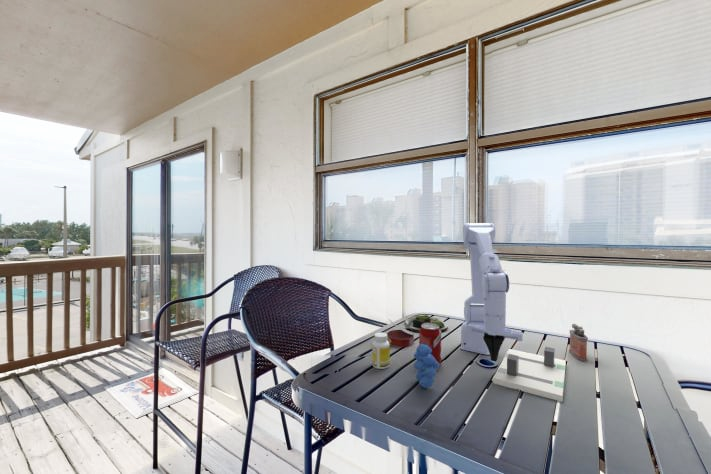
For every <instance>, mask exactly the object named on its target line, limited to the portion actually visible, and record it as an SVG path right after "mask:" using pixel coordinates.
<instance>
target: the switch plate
mask: <svg viewBox="0 0 711 474" xmlns="http://www.w3.org/2000/svg"><path fill="white" fill-rule="evenodd" d="M509 354H512V355H516V356H519V365H518V373H517V376H514V375H510V374H507V358H508V356H509ZM566 362H567V361H566V360H565V359H560V358H557V357H554V367H550V366H546V365H544V355H540V354H536V353H531V352H525V351H522V350H517V349H511V348H508V349H507V351H506V354H505V355H504V357H503V359H502V361H501V363H500V364H499V366H498V368H497V369H496V372H495V374H494V375H493V376H492V377H493V378H492V383H493V384H494V385H498V386H502V387H506V388H508V389H513V388H514V389H513V390H516V389H519V390H518V391H520V390H521V391H520V392H524V393H528V394H532V395H535V396H539V397H543V398H547V399H550V400H554V401H558V402H561V403H563V401H564V400H563V397H564V388H565V379H566V378H565V377H566V367H567V363H566Z"/></svg>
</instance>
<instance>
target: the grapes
mask: <svg viewBox="0 0 711 474" xmlns="http://www.w3.org/2000/svg"><path fill="white" fill-rule="evenodd" d="M431 352H432V350H431V348H430V347H429V346H427V345H424V344H420V345H419V344H418V345H417V347H416V349H415V353H414V354H413V357H414V358H415V359H416V361H415V362H414V364H413V368H414V369H415V370H416V371H417V373H416V374H415V376H414V377H415V379H416V380H417V381H419V382H418V384H419V385H420V386H421V387H422V388H423V389H427V388H431V387H432V386H433V385H434V383H435V382H436V381H435V379H434V377H435V376H436V374H437V370H439V369H438V368H439V367H440V365H441V364H439V363H438V362H437V361H436V359H435V358H434V357H433V356H432V355H431Z"/></svg>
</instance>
